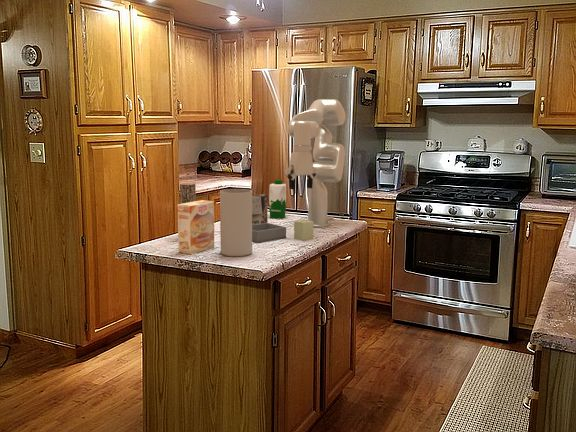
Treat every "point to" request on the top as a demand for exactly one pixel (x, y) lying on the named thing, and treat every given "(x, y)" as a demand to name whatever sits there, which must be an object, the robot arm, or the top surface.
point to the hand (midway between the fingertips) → (301, 188)
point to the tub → (267, 232)
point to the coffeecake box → (195, 226)
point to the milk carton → (277, 200)
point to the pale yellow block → (303, 230)
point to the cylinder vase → (236, 222)
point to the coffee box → (259, 209)
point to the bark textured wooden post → (187, 192)
